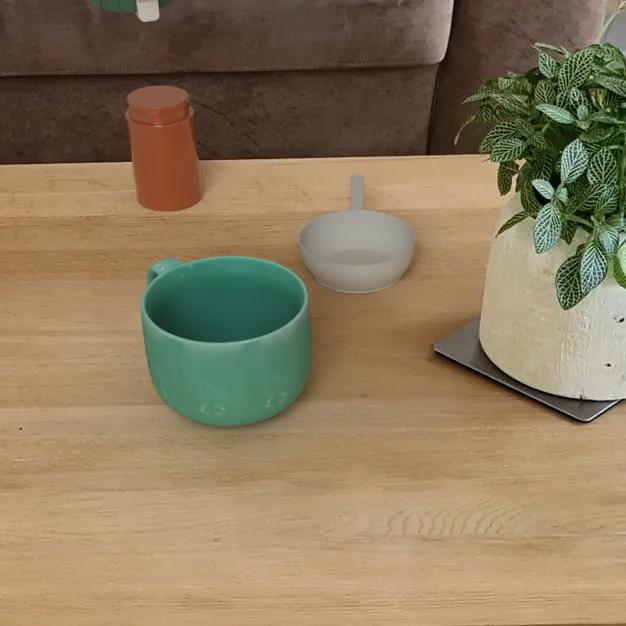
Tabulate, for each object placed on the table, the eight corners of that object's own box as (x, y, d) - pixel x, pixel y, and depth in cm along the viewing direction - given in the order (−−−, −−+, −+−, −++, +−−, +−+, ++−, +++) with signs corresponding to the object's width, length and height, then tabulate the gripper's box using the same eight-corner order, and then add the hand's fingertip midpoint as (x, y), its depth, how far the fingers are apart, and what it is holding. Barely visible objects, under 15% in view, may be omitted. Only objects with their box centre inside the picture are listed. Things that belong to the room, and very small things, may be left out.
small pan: (297, 300, 105) (295, 262, 102) (305, 208, 119) (303, 173, 116) (417, 299, 105) (418, 262, 103) (410, 208, 119) (411, 173, 117)
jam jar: (152, 216, 116) (137, 114, 110) (127, 191, 121) (112, 91, 114) (213, 201, 119) (203, 101, 113) (187, 177, 124) (176, 79, 117)
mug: (344, 412, 92) (341, 309, 86) (199, 469, 86) (185, 362, 80) (243, 318, 102) (234, 220, 96) (108, 363, 96) (89, 262, 90)
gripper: (189, -142, 90) (205, 37, 99) (116, -192, 104) (136, -32, 113) (108, -136, 88) (132, 47, 96) (44, -188, 102) (70, -24, 110)
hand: (134, 4), depth 105 cm, fingers closed on jar lid, 7 cm apart
